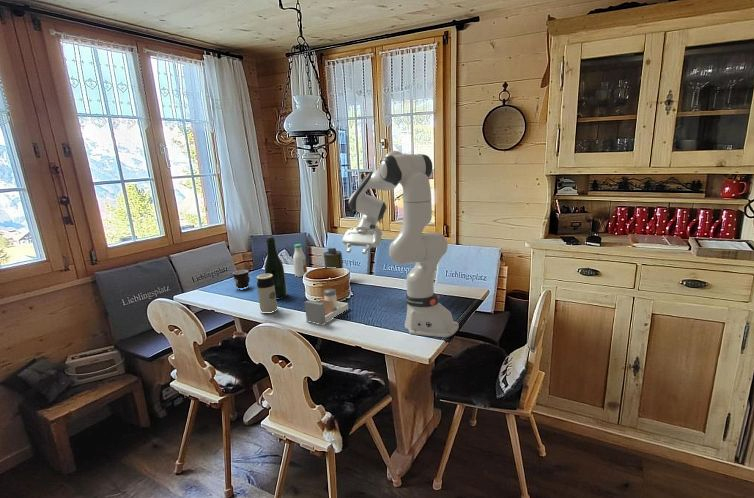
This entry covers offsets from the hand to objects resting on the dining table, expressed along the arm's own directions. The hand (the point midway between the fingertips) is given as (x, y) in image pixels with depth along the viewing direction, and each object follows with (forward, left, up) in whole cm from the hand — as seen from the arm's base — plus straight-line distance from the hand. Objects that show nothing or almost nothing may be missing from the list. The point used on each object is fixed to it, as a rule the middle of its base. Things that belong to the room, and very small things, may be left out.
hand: (356, 252), depth 196 cm
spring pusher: (+4, +21, -24) cm, 32 cm away
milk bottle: (+60, -25, -26) cm, 70 cm away
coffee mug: (+75, +8, -26) cm, 80 cm away
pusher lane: (+4, +20, -25) cm, 33 cm away
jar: (+4, +18, -25) cm, 31 cm away
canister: (+32, -23, -26) cm, 47 cm away
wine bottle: (+46, +10, -26) cm, 54 cm away
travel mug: (+35, +27, -26) cm, 51 cm away
